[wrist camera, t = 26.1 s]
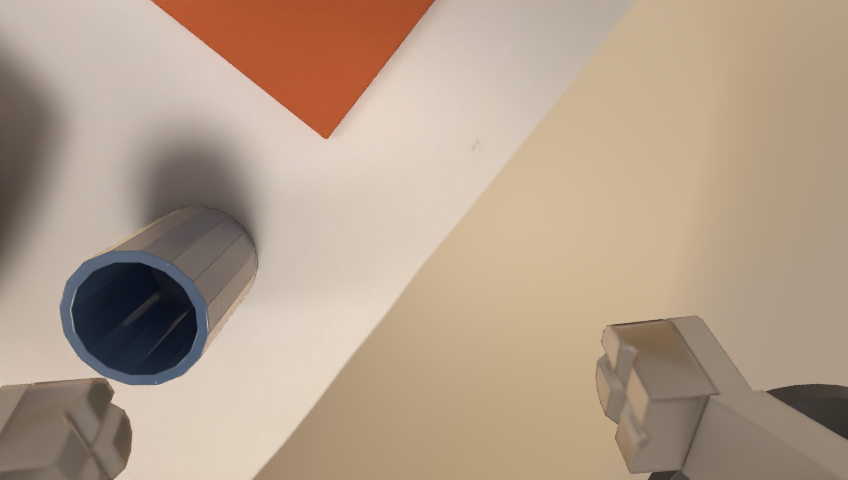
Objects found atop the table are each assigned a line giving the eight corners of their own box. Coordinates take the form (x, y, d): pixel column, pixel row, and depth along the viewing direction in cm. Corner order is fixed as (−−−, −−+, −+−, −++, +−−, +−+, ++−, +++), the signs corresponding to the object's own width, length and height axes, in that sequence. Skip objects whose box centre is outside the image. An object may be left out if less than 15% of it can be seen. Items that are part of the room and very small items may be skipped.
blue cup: (253, 206, 38) (201, 251, 28) (260, 310, 40) (214, 385, 30) (140, 205, 38) (49, 250, 28) (153, 310, 40) (71, 386, 30)
